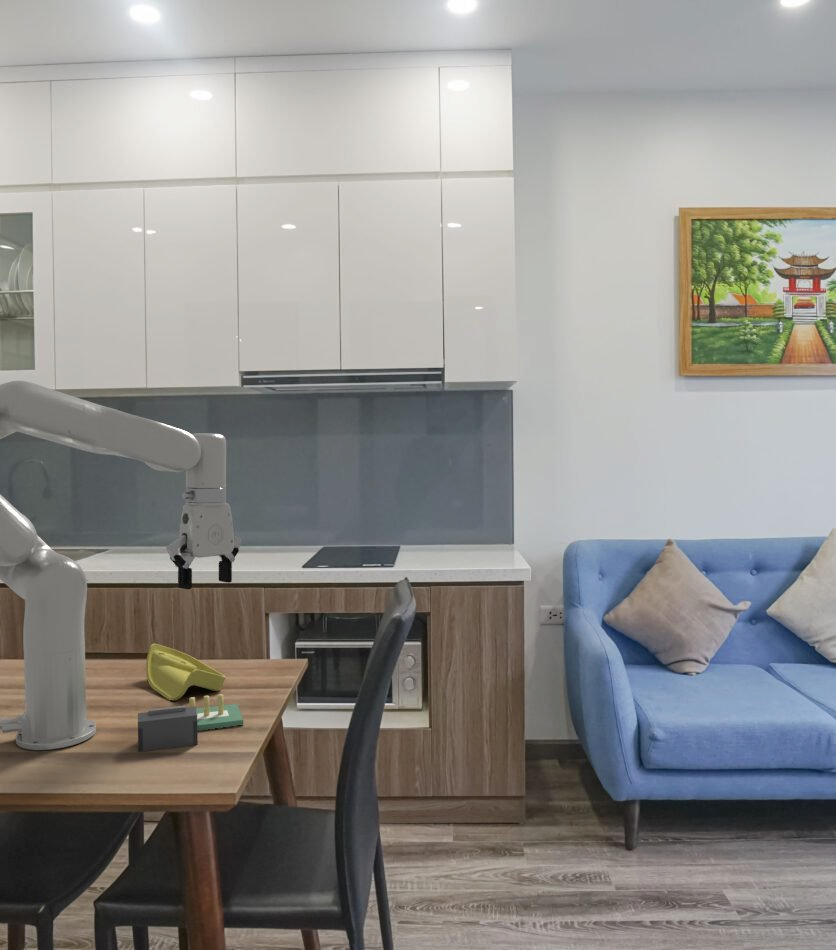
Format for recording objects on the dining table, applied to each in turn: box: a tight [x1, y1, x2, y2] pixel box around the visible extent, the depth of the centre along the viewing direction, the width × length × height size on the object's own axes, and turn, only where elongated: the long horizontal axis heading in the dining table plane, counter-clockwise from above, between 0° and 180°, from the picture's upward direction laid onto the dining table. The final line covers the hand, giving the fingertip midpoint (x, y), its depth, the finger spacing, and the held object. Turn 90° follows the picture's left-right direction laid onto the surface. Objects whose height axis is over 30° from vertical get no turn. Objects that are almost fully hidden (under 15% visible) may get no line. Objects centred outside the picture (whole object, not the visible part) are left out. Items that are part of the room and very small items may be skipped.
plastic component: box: [145, 643, 227, 702], centre depth 162 cm, size 20×7×10 cm
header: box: [188, 693, 244, 732], centre depth 141 cm, size 12×9×4 cm
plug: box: [137, 705, 199, 753], centre depth 130 cm, size 9×4×6 cm, turn 110°
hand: (205, 585), depth 150 cm, fingers open, 9 cm apart
